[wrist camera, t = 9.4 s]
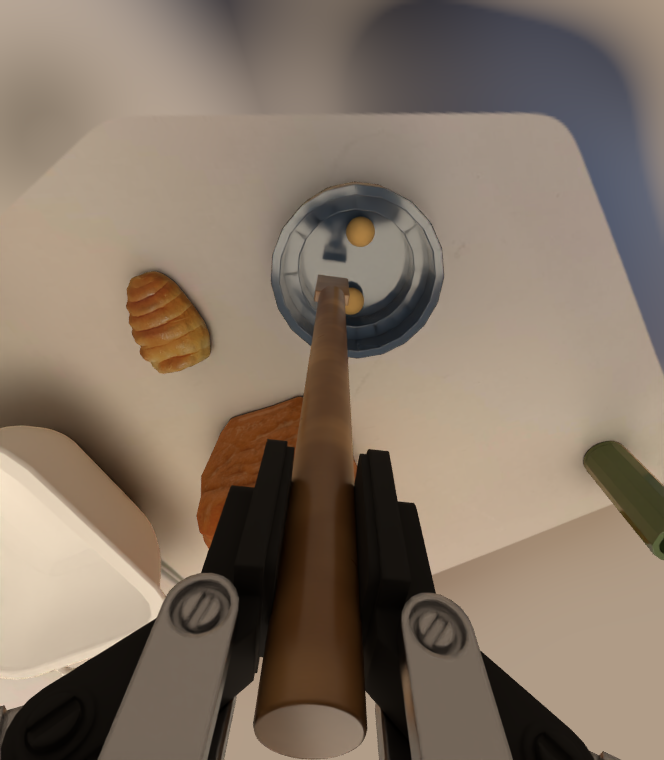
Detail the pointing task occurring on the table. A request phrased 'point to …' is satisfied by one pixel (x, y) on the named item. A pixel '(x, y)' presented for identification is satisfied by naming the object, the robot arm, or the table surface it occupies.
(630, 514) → the utensil pot
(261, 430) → the bread
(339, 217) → the bowl
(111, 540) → the baking dish
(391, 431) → the table surface
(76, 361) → the table surface
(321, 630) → the wooden dowel rod
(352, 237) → the chickpea
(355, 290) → the chickpea
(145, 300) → the pastry
